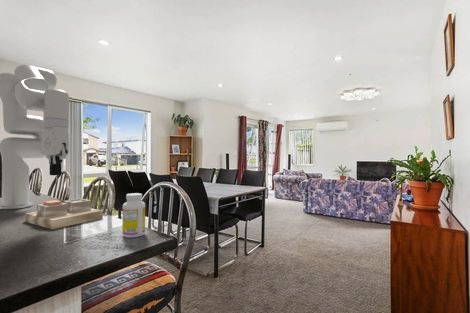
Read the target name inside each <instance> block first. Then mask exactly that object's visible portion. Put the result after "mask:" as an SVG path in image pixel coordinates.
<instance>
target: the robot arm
mask: <svg viewBox="0 0 470 313" xmlns="http://www.w3.org/2000/svg"><path fill="white" fill-rule="evenodd" d="M57 80H58V79H57V76H56V74H55V73H54V72H53V71H52V70H49V69H47V68H46V69H45V68H43V67H38V66H35V65H31V64H29V65H28V64H20V65H18V66H16V67H15V69H14V71H13V72H2V73H1V72H0V100H1V102H2V117H3V119H2V121H3V130H4V131H5V133H7V134H8V135H9V134H10V135H14V136H15V135H17V136H32V137H33V138H32V137H17V136H15V137H14V136H11V137H6V138H3V139H2V140H0V156H1V157H0V158H1V203H0V210H16V209H17V210H18V209H22V208H23V209H24V208H28V207H32V206H34V202H32V201H30V166H29V165H28V164H27V162H26V161H24V160H23V159H43V158H46V159H48V164H49V176H61V175H62V168H63V166H62V165H63V161H64V160H66V159H67V156H68V155H69V153H70V137H69V120H70V118H69V116H70V115H69V114H70V111H69V110H70V96H69V93H68V92H66V91H65V90H62V89H55V88H56V86H57V82H58V81H57ZM28 111H35V112H36V111H37V112H43V117H42V116H38V115H37V116H36V115H29V114H28Z"/></svg>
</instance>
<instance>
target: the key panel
mask: <svg viewBox="0 0 470 313" xmlns="http://www.w3.org/2000/svg"><path fill="white" fill-rule="evenodd" d="M79 200H80V202H72V201H79ZM103 214H104V211H103V210H101V209H98V208H97V209H95V208H92V199H86V198H77V199H70V200H69V199H67V200H63V202H62V204H60V205H53V206H46V205H43V203H42V204H41V203H40V204H36V211H34V212H33V211H32V212H26V213H25V214H24V220H25V221H24V222H25V223H29V224H32V225H36V226H39V227H42V228H46V229H49V230H54V229H55V230H56V229H60V228H65V227H70V226H74V225H78V224H83V223H87V222H92V221H96V220H100V219H104V218H103V216H104V215H103Z"/></svg>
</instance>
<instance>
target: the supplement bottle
mask: <svg viewBox="0 0 470 313" xmlns="http://www.w3.org/2000/svg"><path fill="white" fill-rule="evenodd" d="M125 199H126V202H124V203H123V204H122V231H121V232H122V233H121V234H122V236H123V237H124V238H128V239H132V238H133V239H134V238H139V237H142V236H144V235H145V234H146V203H145V202H144V201H142V199H143V194H142V193H139V192H134V193H133V192H132V193H127V194H126V196H125Z"/></svg>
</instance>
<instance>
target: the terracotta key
mask: <svg viewBox="0 0 470 313" xmlns="http://www.w3.org/2000/svg"><path fill="white" fill-rule="evenodd" d="M62 201H63V200H58V199H57V200H46V201H43V203H42V204H43V205H46V206H53V205H60V204H62V203H63V202H62Z"/></svg>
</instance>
